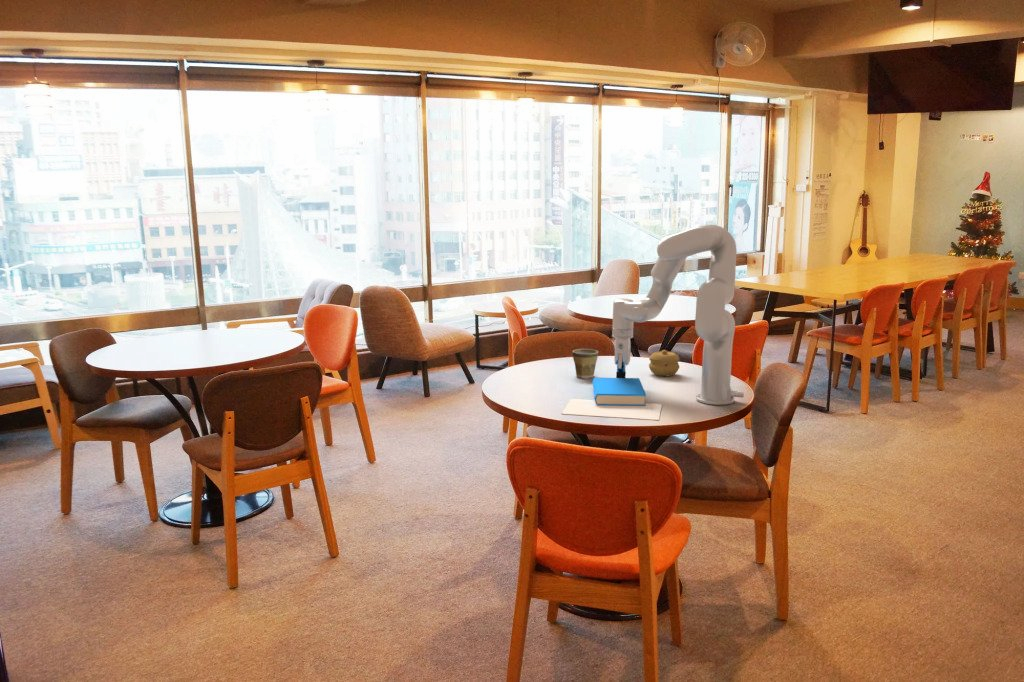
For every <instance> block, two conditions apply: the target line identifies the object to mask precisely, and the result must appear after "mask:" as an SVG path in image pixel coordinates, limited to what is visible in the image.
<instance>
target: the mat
mask: <svg viewBox="0 0 1024 682" xmlns="http://www.w3.org/2000/svg"><path fill="white" fill-rule="evenodd" d="M645 405H646V406H622V405H596V402H595V399H579V398H570V400H569V401H568V403H567V405H565V407H564V409H563V410H562V413H561V415H570V416H585V417H599V418H600V417H601V418H603V417H604V418H618V419H632V420H647V421H659V420H660V415H661V410H662V405H663V404H662V403H651V402H649V403H647V402H645Z"/></svg>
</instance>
